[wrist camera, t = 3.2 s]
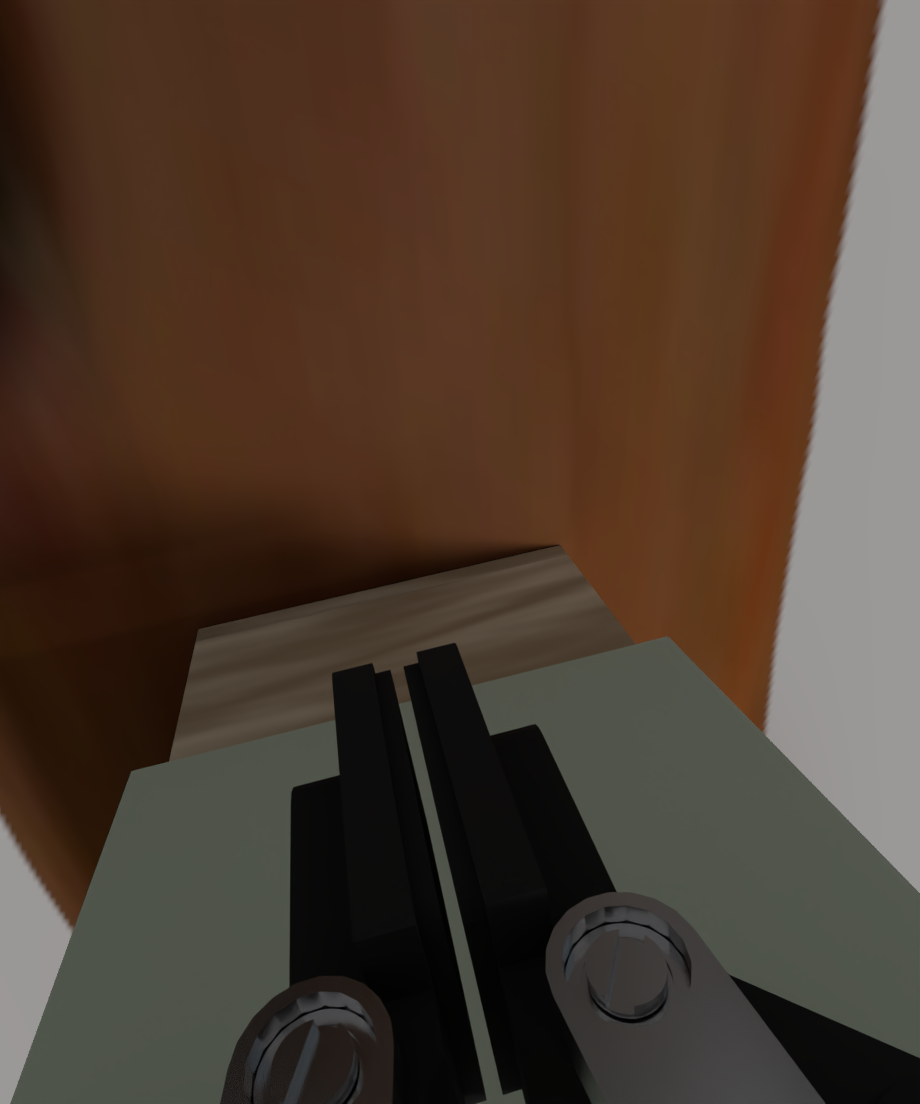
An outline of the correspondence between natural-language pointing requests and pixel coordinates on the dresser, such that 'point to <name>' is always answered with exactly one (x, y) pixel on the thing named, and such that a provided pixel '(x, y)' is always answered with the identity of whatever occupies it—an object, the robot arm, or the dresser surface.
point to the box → (388, 644)
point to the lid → (606, 808)
